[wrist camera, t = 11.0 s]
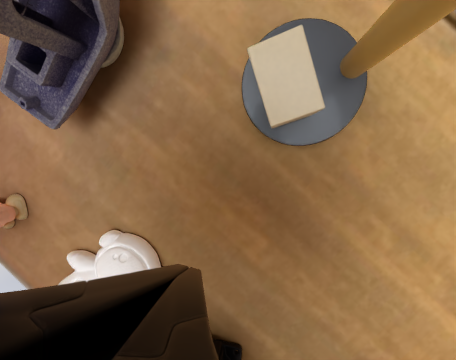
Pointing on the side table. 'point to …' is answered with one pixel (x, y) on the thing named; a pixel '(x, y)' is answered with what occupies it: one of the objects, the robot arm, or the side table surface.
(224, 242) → the side table surface
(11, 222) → the grandmother figurine
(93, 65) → the toy boat
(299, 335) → the side table surface
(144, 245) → the astronaut figurine
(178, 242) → the side table surface
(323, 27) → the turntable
